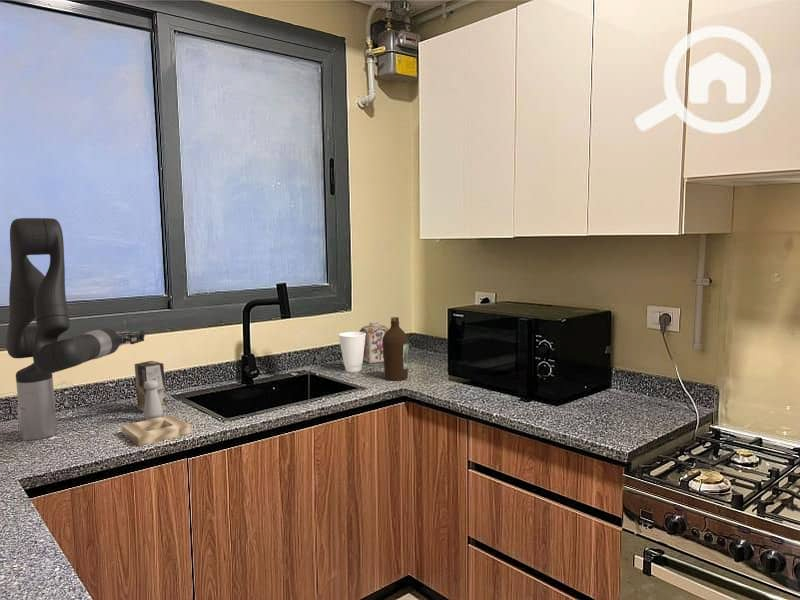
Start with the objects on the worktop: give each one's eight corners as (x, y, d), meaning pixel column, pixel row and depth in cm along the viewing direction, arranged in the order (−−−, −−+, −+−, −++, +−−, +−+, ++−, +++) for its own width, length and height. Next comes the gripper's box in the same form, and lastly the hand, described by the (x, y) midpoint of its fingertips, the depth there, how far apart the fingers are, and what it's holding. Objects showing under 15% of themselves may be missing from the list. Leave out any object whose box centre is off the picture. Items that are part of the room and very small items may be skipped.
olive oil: (380, 381, 230) (379, 319, 228) (386, 374, 241) (384, 315, 238) (406, 381, 228) (405, 319, 226) (411, 375, 239) (410, 315, 236)
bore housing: (138, 446, 162) (138, 437, 162) (122, 433, 173) (121, 425, 173) (191, 433, 172) (190, 425, 172) (172, 422, 183) (172, 414, 183)
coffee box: (167, 409, 198) (164, 363, 196) (148, 414, 193) (145, 366, 191) (155, 404, 204) (152, 360, 202) (137, 409, 199) (133, 363, 197)
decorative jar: (369, 363, 263) (368, 325, 261) (358, 359, 273) (357, 322, 271) (392, 360, 269) (391, 322, 267) (381, 356, 279) (380, 319, 277)
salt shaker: (157, 416, 190) (155, 377, 189) (166, 419, 186) (164, 380, 185) (140, 420, 185) (137, 381, 184) (149, 424, 182) (146, 384, 180)
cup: (351, 366, 259) (350, 331, 258) (372, 369, 252) (371, 333, 251) (334, 371, 250) (332, 334, 248) (354, 374, 243) (353, 337, 241)
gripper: (122, 329, 155) (151, 321, 171) (71, 330, 156) (104, 322, 172) (124, 357, 156) (153, 346, 172) (73, 357, 157) (106, 346, 173)
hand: (128, 334), depth 172 cm, fingers open, 8 cm apart
